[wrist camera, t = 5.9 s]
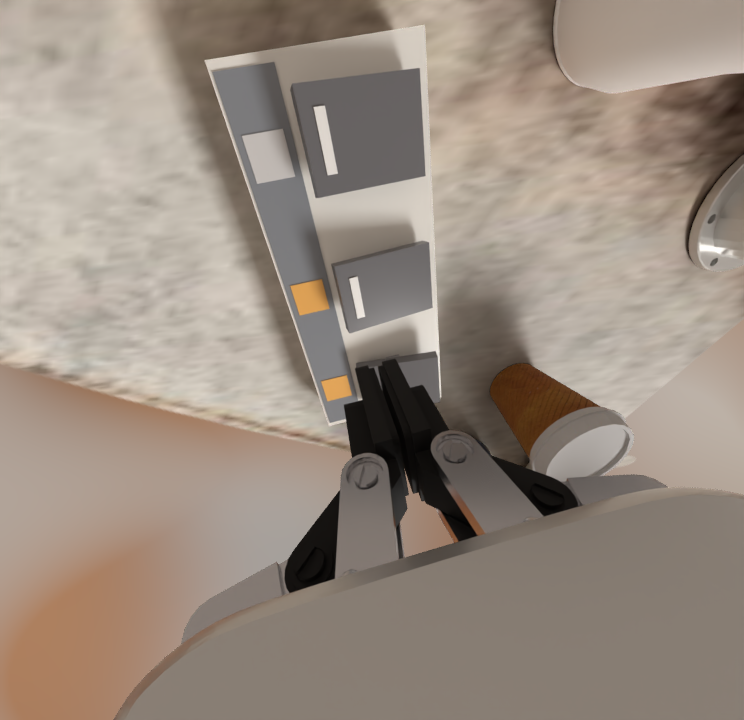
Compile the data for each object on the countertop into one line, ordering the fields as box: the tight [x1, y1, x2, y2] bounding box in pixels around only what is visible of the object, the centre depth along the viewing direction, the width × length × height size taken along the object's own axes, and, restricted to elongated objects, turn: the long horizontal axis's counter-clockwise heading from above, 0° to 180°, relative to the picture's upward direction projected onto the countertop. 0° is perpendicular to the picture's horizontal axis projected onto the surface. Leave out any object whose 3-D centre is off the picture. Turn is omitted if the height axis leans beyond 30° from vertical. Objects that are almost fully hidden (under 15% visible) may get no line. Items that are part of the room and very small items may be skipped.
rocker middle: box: [331, 241, 433, 333], centre depth 22 cm, size 7×5×1 cm
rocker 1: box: [290, 68, 426, 198], centre depth 17 cm, size 7×5×1 cm
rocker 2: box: [356, 351, 440, 403], centre depth 26 cm, size 7×5×1 cm
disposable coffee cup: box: [490, 363, 634, 482], centre depth 32 cm, size 10×10×12 cm
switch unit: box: [205, 25, 441, 426], centre depth 24 cm, size 12×27×5 cm, turn 9°
